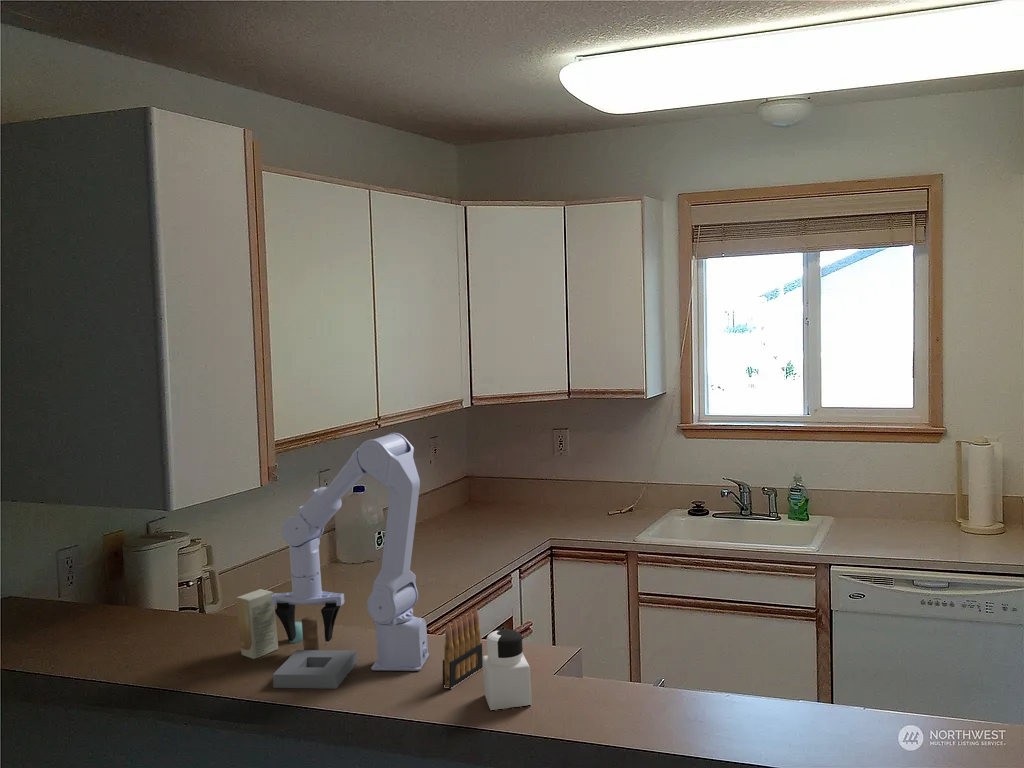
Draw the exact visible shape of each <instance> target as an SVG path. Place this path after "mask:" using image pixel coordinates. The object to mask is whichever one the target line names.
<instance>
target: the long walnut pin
mask: <svg viewBox="0 0 1024 768" xmlns="http://www.w3.org/2000/svg"><path fill="white" fill-rule="evenodd" d="M301 622H302V633H303V641H302V643H303V644H302V645H303V650H320V645H319V644H320V643H319V630H318V629H319V628H318V627H319V626H318V617H316V616H305V617H303V618H302V619H301Z"/></svg>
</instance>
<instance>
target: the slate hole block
mask: <svg viewBox="0 0 1024 768" xmlns="http://www.w3.org/2000/svg"><path fill="white" fill-rule="evenodd" d="M357 659H358V658H357V650H356V649H355V650H343V649H342V650H339V649H337V650H335V649H334V650H333V649H331V650H329V649H328V650H325V649H324V650H323V649H322V650H321V649H319V650H304V649H296V650H295V651H294V652H293V654H291V655H290V656H289V657H288V659H286V661H284V662H283V663H282V665H281V666H279V667H278V668H277V670H276V671H274V672H273V674H272V684H273V687H272V688H273V689H330V690H331V689H333V690H334V689H338V687H339V686H340V685H341V684H342V683H343V681H344V680H345V679H346V677H347V676H348V675H349V674H348V673H351V671H352V670H353V668H354V667H355V666H356V665H357V663H358V662H357V661H358V660H357ZM355 664H356V665H355ZM354 665H355V666H354ZM351 669H352V670H351ZM347 674H348V675H347ZM344 678H345V679H344ZM340 683H341V684H340Z"/></svg>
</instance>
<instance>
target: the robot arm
mask: <svg viewBox="0 0 1024 768" xmlns="http://www.w3.org/2000/svg"><path fill="white" fill-rule="evenodd" d="M414 451H415V447H414V446H413V445H412V444H411V442H409V440H408V439H407V438H406V437H405V436H404V434H403V435H402V434H401V433H398V432H391V433H388V434H386V435H384V436H380V437H377V438H374V439H368V440H367V439H366V440H365V441H364V442H362V443H361V444H360V445H359V447H358V448H356V449H355V450H354V451H353V452H352V454H351V456H350V458H349V459H348V460H347V462H346V463H345V464H344V466H342V468H341V469H340V470H339V472H338V473H337V474H336V475H335V477H334V478H333V480H331V482H330V483H329V485H328V486H320V487H318V488H314V489H313V490H311V492H310V493H309V494H310V496H311V497H310V498H309V499H308V500H307V501H306V502H305V503H304V505H301V506H299V507H298V508H297V510H296V511H297V513H296V515H291V516H288V517H286V518H285V521H284V522H283V524H282V526H281V527H282V528H281V534H282V537H283V539H284V540H285V542H286V543H287V544H288V547H289V549H288V550H289V562H290V563H289V564H290V573H291V574H290V575H291V577H290V578H291V589H292V590H291V591H290V592H280V593H279V592H278V593H277V592H276V593H273V595H272V596H271V603H272V606H274V607H275V606H276V608H275V616H277V618H278V619H279V620H280V622H281V624H282V625H283V627H284V631H285V633H286V636H287V641H288V642H289V641H293V640H294V639H295V638H296V629H295V622H296V620H295V615H296V605H298V606H299V605H302V606H303V605H305V606H306V605H311V606H315V605H317V606H319V605H320V606H321V605H323V607H322V608H321V610H320V613H321V616H322V620H323V621H322V622H323V628H324V629H323V630H324V641H325V642H327V643H328V642H330V641H331V640H332V639H333V633H334V626H335V622H336V618H337V615H338V613H339V610H340V608H341V606H342V605H344V603H345V593H342V592H341V593H340V592H338V593H337V592H331V591H330V592H329V591H325V590H323V589H322V575H321V574H322V573H321V562H320V561H321V560H320V559H321V557H320V544H321V541H320V540H321V537H322V535H323V534H324V531H325V526H326V524H328V523H329V522H330V520H331V519H332V518H334V516H335V514H336V513H337V512H338V511H339V510H340V509H341V507H342V505H343V503H342V498H343V497H344V495H345V494H346V493H347V492H348V491H350V489H352V487H354V485H355V484H356V483H357V482H358V481H359V480H361V478H362V477H363V476H364V475H365V474H366V473H368V475H371V477H373V478H375V479H376V480H378V481H379V482H380V483H382V484H383V485H384V486H386V488H388V490H389V496H388V504H387V505H388V506H387V514H386V523H385V533H384V543H383V550H382V560H381V568H380V572H379V573H378V575H377V576H376V578H375V580H374V581H373V585H372V591H371V593H370V595H368V598H367V600H366V610H367V612H368V614H369V616H370V617H371V619H372V620H373V623H374V624H375V636H376V637H375V638H376V639H375V640H376V650H377V651H376V652H377V653H376V654H377V655H376V656H377V659H376V661H375V662H374V663H373V665H372V666H371V668H370V669H371V671H404V672H405V671H407V672H408V671H412V672H413V671H415V672H418V671H420V670H421V669H422V667H423V666H424V665H425V662H426V661H427V660H428V658H429V656H430V654H429V649H428V648H429V647H428V633H427V631H428V630H427V622H426V620H425V618H422V617H417V616H414V606H415V605H416V604H417V602H418V600H419V591H418V588H417V584H416V579H417V576H416V574H415V573H414V572H413V571H412V570H411V564H412V555H413V546H414V540H415V539H414V538H415V529H416V523H417V515H418V511H417V510H418V504H419V497H420V496H419V495H420V487H421V480H420V476H419V473H418V469H417V466H416V463H415V459H414Z"/></svg>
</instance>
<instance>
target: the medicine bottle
mask: <svg viewBox="0 0 1024 768" xmlns="http://www.w3.org/2000/svg"><path fill="white" fill-rule="evenodd" d="M486 649H487V650H486V651H487V655H482V660H483V669H482V673H483V674H482V675H483V677H482V678H483V693H484V696H485V697H484V698H485V700H486V702H487V705H488V707H489V709H490V711H491V710H495V709H503V708H509V707H517V706H523V705H531V706H532V689H531V686H532V685H531V668H530V665H529V663H528V660H527V659H526V657H525V655H524V650H523V649H524V648H523V636H522V634H521V632H519V631H517V630H514V629H511V628H508V629H507V628H505V629H504V628H502V629H497V630H495V631H492V632H489V634H488V635H487V637H486ZM503 710H504V709H503ZM495 711H496V710H495Z"/></svg>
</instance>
